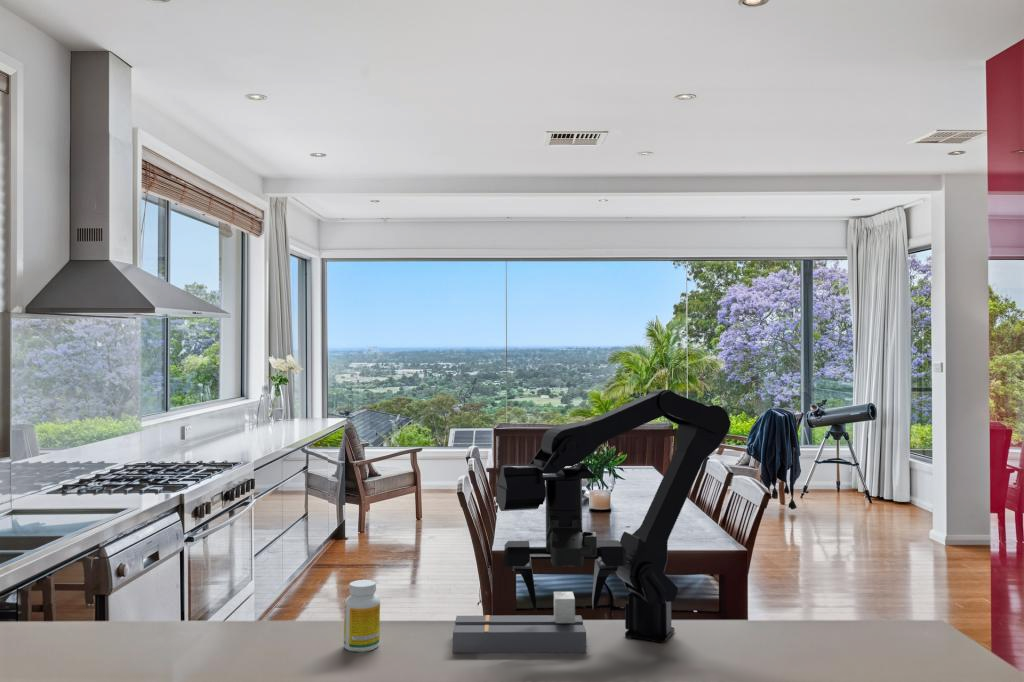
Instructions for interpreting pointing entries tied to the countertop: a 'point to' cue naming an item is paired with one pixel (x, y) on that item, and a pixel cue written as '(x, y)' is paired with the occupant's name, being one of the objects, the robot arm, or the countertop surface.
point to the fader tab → (564, 608)
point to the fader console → (517, 634)
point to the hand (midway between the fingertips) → (564, 609)
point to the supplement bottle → (362, 617)
